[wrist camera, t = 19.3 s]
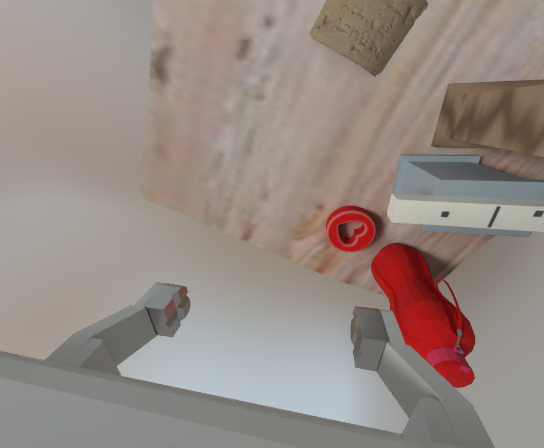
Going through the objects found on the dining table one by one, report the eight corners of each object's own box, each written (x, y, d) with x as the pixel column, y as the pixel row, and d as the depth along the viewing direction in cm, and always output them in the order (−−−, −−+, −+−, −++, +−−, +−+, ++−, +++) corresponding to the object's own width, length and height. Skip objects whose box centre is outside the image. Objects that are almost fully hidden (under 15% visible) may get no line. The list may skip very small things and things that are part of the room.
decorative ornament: (331, 201, 46) (332, 207, 44) (379, 209, 45) (383, 216, 43) (321, 240, 51) (321, 248, 48) (365, 248, 50) (367, 257, 47)
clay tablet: (429, 7, 32) (438, -2, 29) (380, 83, 36) (384, 80, 34) (341, -49, 31) (343, -63, 28) (303, 36, 36) (302, 30, 33)
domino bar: (391, 193, 29) (397, 199, 26) (591, 202, 25) (617, 210, 23) (386, 214, 30) (392, 222, 28) (575, 225, 27) (598, 236, 24)
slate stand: (400, 154, 40) (441, 175, 27) (477, 154, 38) (562, 178, 25) (391, 196, 43) (423, 234, 30) (460, 199, 41) (527, 240, 28)
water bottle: (433, 247, 47) (537, 369, 25) (400, 283, 52) (460, 409, 30) (393, 229, 46) (461, 336, 24) (364, 267, 52) (398, 382, 30)
